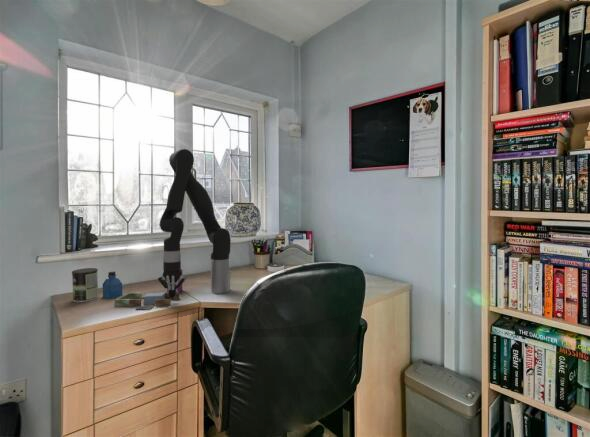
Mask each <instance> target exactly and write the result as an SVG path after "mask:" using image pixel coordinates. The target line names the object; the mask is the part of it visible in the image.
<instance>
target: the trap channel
mask: <svg viewBox="0 0 590 437" xmlns="http://www.w3.org/2000/svg"><path fill="white" fill-rule="evenodd" d="M164 293H165V299H156V300H155V304H154V305H155V306H154V305H142V300H143V299H144V296H142V294H143V293H142V292H127V293H125V294H122V296H118V297H116V298H114V307H136V308H135V311H150V310H152V309H153V308H154V307H157V308H158V307H161V308H162V307H163V308H164V306H165V308H166V306H170V307H171V306H172V303H171V302H172V300H173V301H174V300H175V301H176V300H180V299H181V298H180V297H181V295H180V292H177V293H176V296H175V297H174V298H170V296H169V293H167V292H164Z"/></svg>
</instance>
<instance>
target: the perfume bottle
mask: <svg viewBox="0 0 590 437" xmlns="http://www.w3.org/2000/svg"><path fill="white" fill-rule="evenodd" d="M107 273H108V274H107V277H108V278H105V280H104V281H103V283H102V297H103V298H106V299H110V300H111V299H113V298H114V299H115V298H119V297H121V296H123V283H122V281H121V280H120V278H118V277H117V274H116V271H109V272H107Z"/></svg>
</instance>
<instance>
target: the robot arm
mask: <svg viewBox="0 0 590 437" xmlns="http://www.w3.org/2000/svg"><path fill="white" fill-rule="evenodd" d="M194 161H195V158H194V154H193V153H192V152H191V151H190V150H189V149H186V148H182V149H179V150H175V151H174V152H172V153H171V154H170V155H169V158H168V162H169V165H170V167H171V169H172V170H173V172H174V173H175V176H174V180H173V182H172V183H171V186H170V189H169V192H168V195H167V201H166V206H165V209H164V211H163V214H162V215H161V218H160V220H159V228H160V230H161V231H162V232H163V233H170V236H169V237H166V238H164V239H163V258H162V261H163V263H162V264H163V272H162V275H161V276H159V277H158V278H157V280H158V282H159V283H160V284H161V285H162V286H163V288H164V289H166V290H167V289H169V296H170V298H174V297H175V296H176V289H177V288H179V287H180V286H181V285H182V286H183V284H184V283H185V281H186V280H187V276H183V272H182V273H181V269H182V263H181V262H182V256H181V255H182V254H181V239H182V236H183V232H184V228H185V224H184V220H183V219H182V218H180V217H177V216H176V215H177V214H179V213H182V211H183V207H184V200H185V194H186V195H187V197H188V199H189V201H190V203H191V205H192V206H193V209H194V210H195V213H196V215H197V216H198V218H199V219H200V221H201V222H202V224H203V227H204V230H205V233H206V235H207V238H208V240H209V242H210V243H211V244H212V252H211V253H210V283H211V285H210V292H211V293H212V294H217V295H220V294H228V293H229V292H230V291H231V290H232V289H231V272H230V254H231V234H230V232H229V230H228V229H226V228H223V227H221V225H220V224H219V222H218V220H217V218H216V215H215V210H214V209H215V208H214V205H213V201H212V200H211V197H210V195H209V193H208V192H207V190H206V188H205V187H204V186H203V185H202V184H201V183H200V182H199V180H197V179H196V178H195V176H194V175H193V173H192V168H193V165H194ZM175 216H176V217H175ZM179 278H180V282H179V283H178V284H177V281H178V280H179Z"/></svg>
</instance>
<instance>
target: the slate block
mask: <svg viewBox="0 0 590 437" xmlns="http://www.w3.org/2000/svg"><path fill="white" fill-rule="evenodd" d="M165 293H166V292H152V293H151V292H150V293H149V292H148V293H146V294H145V295H144V296H143V297H144V298H143V306H152V305H155V300H156V299H165Z"/></svg>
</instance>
